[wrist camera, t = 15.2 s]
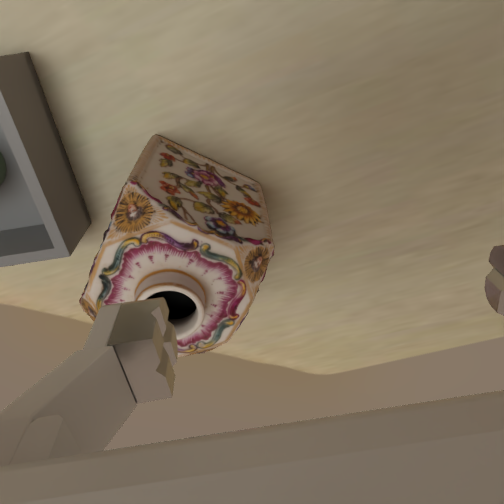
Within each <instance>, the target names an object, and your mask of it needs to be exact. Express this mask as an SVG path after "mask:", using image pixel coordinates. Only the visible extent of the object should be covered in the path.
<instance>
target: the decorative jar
mask: <svg viewBox="0 0 504 504" xmlns="http://www.w3.org/2000/svg"><path fill="white" fill-rule="evenodd" d="M111 219H112V221H111V222H110V224H109V227H108V230H106V231H105V233H104V237H103V243H102V244H101V246H100V250H99V252H98V253H97V255H96V256H95V259H94V262H93V265H92V267H91V270H90V273H89V280H88V283H87V284H86V287H85V289H84V293H83V294H82V297H81V298H80V300H79V302H80V305H81V307H82V309H83V310H84V311H85V312H86V313H87V314H88V315H89V316H90V317H91V319H92V320H93V321H95V319H96V316H97V314H98V312H99V309H100V308H101V307H102V306H104V305H110V304H116V303H124V302H131V301H138V300H146V299H153V298H160V297H163V298H164V299H165V300H166V303H167V306H168V309H169V315H168V321H169V322H170V323H172V324H173V325H174V329H175V332H176V337H177V346H178V356H177V357H181V356H188V355H191V354H196V353H205V352H206V351H210V350H213V349H214V348H216V347H218V346H220V345H222V344H224V343H226V342H228V341H229V340H230V339H231V337H232V335H233V334H234V333H235V331H236V330H237V329H238V328H239V327H240V325H241V323H242V322H243V320H244V319H245V317H246V316H247V314H248V311H249V308H250V306H251V304H252V303H253V300H254V298H255V295H256V293H257V292H258V291H259V285H260V283H261V282H262V281H263V279H264V277H265V273H266V270H267V266H268V263H269V261H270V259H271V257H272V256H273V255H274V244H273V239H272V232H271V227H270V221H269V216H268V211H267V207H266V203H265V199H264V195H263V192H262V189H261V185H260V184H259V183H258V182H256V181H254V180H252V179H250V178H248V177H246V176H244V175H241V174H239V173H237V172H235V171H233V170H231V169H228V168H227V167H225V166H223V165H220V164H218V163H216V162H214V161H212V160H210V159H208V158H206V157H203V156H201V155H199V154H197V153H195V152H193V151H191V150H189V149H186V148H184V147H182V146H180V145H178V144H176V143H173V142H171V141H169V140H167V139H165V138H163V137H161V136H158V135H154V136H152V137H151V139H150V140H149V142H148V143H147V145H146V146H145V148H144V150H143V151H142V153H141V155H140V157H139V159H138V161H137V162H136V164H135V166H134V168H133V170H132V172H131V173H130V175H129V178H128V179H127V182H126V183H125V185H124V186H123V187H122V191H121V193H120V196H119V198H118V201H117V204H116V206H115V208H114V210H113V212H112V214H111Z"/></svg>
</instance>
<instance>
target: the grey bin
mask: <svg viewBox="0 0 504 504" xmlns="http://www.w3.org/2000/svg"><path fill="white" fill-rule="evenodd" d="M0 152H1V154H2V156H3V157H4V160H5V163H6V176H5V179H4V181H3V182H2V184H1V185H0V267H4V266H11V265H17V264H24V263H30V262H37V261H43V260H50V259H56V258H63V257H69V256H71V254H72V252H73V251H74V249H75V248H76V246H77V245H78V243H79V241H80V240H81V238H82V237H83V235H84V233H85V232H86V230H87V229H88V227H89V225H90V224H91V219H90V217H89V214H88V211H87V209H86V206H85V203H84V201H83V198H82V195H81V193H80V190H79V187H78V184H77V182H76V179H75V176H74V174H73V171H72V168H71V166H70V163H69V160H68V158H67V155H66V152H65V149H64V147H63V144H62V141H61V139H60V136H59V133H58V131H57V128H56V125H55V123H54V120H53V117H52V114H51V112H50V109H49V106H48V104H47V101H46V98H45V96H44V93H43V90H42V88H41V85H40V82H39V79H38V77H37V74H36V71H35V69H34V66H33V63H32V61H31V58H30V55H29V53H28V52H24V53H18V54H12V55H5V56H0Z"/></svg>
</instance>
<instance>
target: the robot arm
mask: <svg viewBox="0 0 504 504" xmlns="http://www.w3.org/2000/svg"><path fill="white" fill-rule="evenodd" d="M489 262H490V264H491V265H492V266H493V269H492V270H491V272H490V273H489V274H488V275H487V276H486V281H485V292H486V297H487V300H488V301H489V303H490V305H491V307H492V308H493V309H494V310H495V311H496V312H497V313H499V314H501V315H504V245H500V246H494V248H493V249H492V251H491V253H490V258H489ZM168 315H169V309H168V306H167V303H166V300H165V299H164V298H163V297H160V298H153V299H146V300H138V301H131V302H124V303H116V304H110V305H104V306H102V307H101V308H100V309H99V312H98V314H97V316H96V319H95V321H94V323H93V326H92V328H91V331H90V333H89V336H88V338H87V340H86V343H85V345H84V348H83V350H80V351H76V352H74V353H73V354H72V355H71V356H69V357H68V358H67V359H66V360H64V361H63V362H62V363H61V364H60V365H58V366H57V367H56V368H55V369H53V370H52V371H51V372H50V373H48V374H47V375H46V376H45V377H43V378H42V379H41V380H40V381H38V382H37V383H36V384H35V385H33V386H32V387H31V388H30V389H28V390H27V391H26V392H25V393H23V394H22V395H21V396H20V397H18V398H17V399H16V400H15V401H13V402H12V403H11V404H10V405H8V406H7V407H6V408H5V409H3V410H2V411H1V412H0V504H504V390H501V391H494V392H487V393H481V394H474V395H467V396H461V397H454V398H447V399H441V400H435V401H428V402H421V403H415V404H408V405H402V406H395V407H388V408H382V409H376V410H369V411H362V412H356V413H349V414H343V415H336V416H330V417H324V418H316V419H310V420H303V421H297V422H290V423H283V424H277V425H270V426H264V427H257V428H250V429H244V430H237V431H231V432H224V433H218V434H211V435H204V436H198V437H191V438H184V439H178V440H171V441H164V442H158V443H151V444H145V445H138V446H131V447H125V448H118V449H112V450H105V451H103V450H104V448H105V447H106V446H107V445H108V443H109V442H110V441H111V439H112V438H113V437H114V435H115V434H116V433H117V431H118V430H119V429H120V428H121V426H122V425H123V424H124V422H125V421H126V420H127V418H128V417H129V416H130V414H131V413H132V412H133V410H134V409H135V408H136V406H137V404H138V403H143V402H149V401H154V400H160V399H165V398H171V397H172V396H173V388H174V380H175V374H174V370H173V365H174V364H175V363H176V362H177V356H178V346H177V337H176V332H175V329H174V325H173V324H172V323H170V322H169V321H168Z"/></svg>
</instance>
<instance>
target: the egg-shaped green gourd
mask: <svg viewBox="0 0 504 504" xmlns="http://www.w3.org/2000/svg"><path fill="white" fill-rule="evenodd" d="M5 176H6V163H5V160H4V157H3V156H2V154H1V152H0V185H1V184H2V182H3V181H4V179H5Z"/></svg>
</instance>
